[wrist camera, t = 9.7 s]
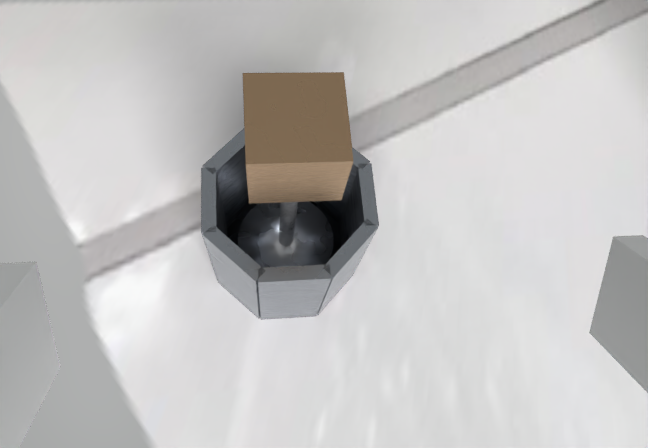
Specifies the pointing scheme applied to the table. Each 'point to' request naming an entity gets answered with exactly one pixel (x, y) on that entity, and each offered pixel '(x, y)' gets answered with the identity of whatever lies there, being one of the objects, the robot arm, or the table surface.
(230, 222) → the octagonal metal cup
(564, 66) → the table surface
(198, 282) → the table surface
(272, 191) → the plunger
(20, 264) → the robot arm
